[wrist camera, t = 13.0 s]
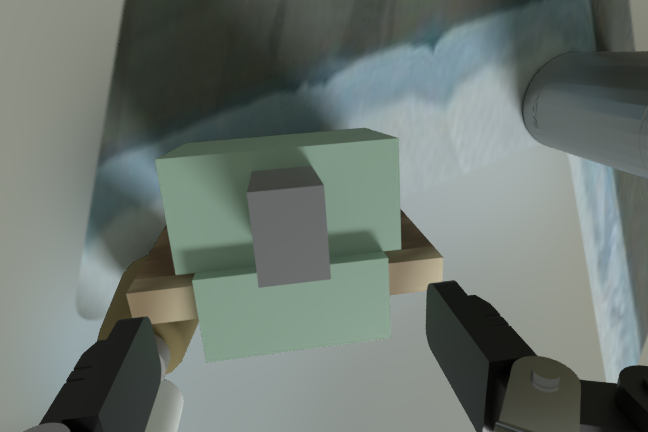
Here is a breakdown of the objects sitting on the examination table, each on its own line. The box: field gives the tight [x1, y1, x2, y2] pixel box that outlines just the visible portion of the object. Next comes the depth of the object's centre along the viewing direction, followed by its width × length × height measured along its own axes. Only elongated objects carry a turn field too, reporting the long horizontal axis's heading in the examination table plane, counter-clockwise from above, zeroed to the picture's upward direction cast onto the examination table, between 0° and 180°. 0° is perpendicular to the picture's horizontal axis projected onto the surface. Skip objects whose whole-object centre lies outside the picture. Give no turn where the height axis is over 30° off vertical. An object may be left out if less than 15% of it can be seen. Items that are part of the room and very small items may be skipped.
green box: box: [155, 128, 401, 362], centre depth 24 cm, size 12×11×13 cm
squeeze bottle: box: [97, 255, 199, 383], centre depth 35 cm, size 8×8×18 cm
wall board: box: [126, 209, 443, 324], centre depth 33 cm, size 17×7×20 cm, turn 93°
